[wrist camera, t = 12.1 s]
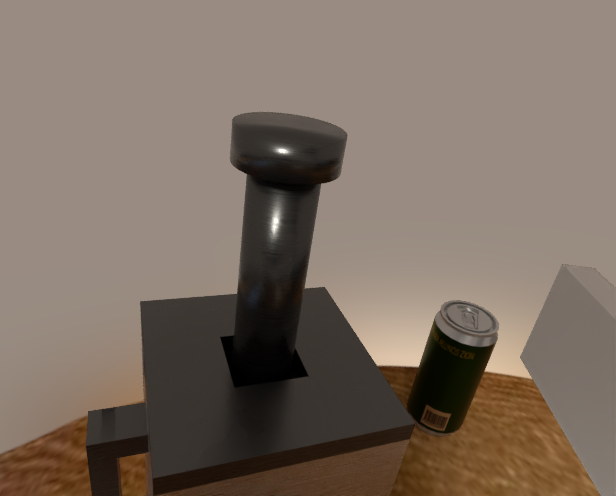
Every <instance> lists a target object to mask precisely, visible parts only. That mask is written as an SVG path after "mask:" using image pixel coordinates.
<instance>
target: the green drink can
mask: <svg viewBox="0 0 616 496" xmlns="http://www.w3.org/2000/svg"><path fill="white" fill-rule="evenodd" d="M498 328H499V323H498V321H497V320H496V318H495V317H494V316H493V315H492V314H491V313H490V312H489V311H487V310H485V309H484V308H482V307H480V306H478V305H476V304H473V303H470V302H466V301H459V300H456V301H449V302H446V303H444V304H443V305H442V307H441V310H440V311H439V312H438V313H437V314H436V316H435V319H434V322H433V325H432V328H431V331H430V335H429V337H428V341H427V344H426V347H425V350H424V353H423V356H422V359H421V362H420V365H419V368H418V371H417V374H416V377H415V380H414V383H413V386H412V390H411V393H410V396H409V399H408V403H407V405H408V410H409V415H410V416H411V418H412V419H413V421H414V422H415V424H416V425H417V426H418V427H419V428H420V429H421V430H423V431H425V432H426V433H429V434H431V435H434V436H448V435H450V434H452V433H454V432H455V431H457V430H459V429H460V427H461V425H462V424H463V421H464V419H465V417H466V414H467V412H468V409H469V407H470V405H471V402H472V400H473V397H474V395H475V392H476V390H477V388H478V385H479V383H480V380H481V378H482V376H483V373H484V371H485V368H486V366H487V363H488V361H489V359H490V356H491V354H492V351H493V349H494V347H495V344H496V342H497V339H498V333H497V331H498Z"/></svg>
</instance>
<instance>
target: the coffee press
mask: <svg viewBox="0 0 616 496" xmlns="http://www.w3.org/2000/svg"><path fill="white" fill-rule="evenodd" d="M236 302H237V294H230V295H218V296H205V297H192V298H179V299H166V300H153V301H141V302H140V305H141V306H140V307H141V336H142V363H143V394H144V403H140V404H133V405H126V406H120V407H113V408H107V409H100V410H94V411H88V424H87V439H86V449H87V458H88V466H89V474H90V482H91V491H92V496H122V490H121V476H120V463H119V458H120V457H126V456H131V455H136V454H142V453H146V480H147V496H390V495H391V492H392V489H393V486H394V483H395V480H396V477H397V474H398V472H399V469H400V466H401V463H402V460H403V457H404V454H405V451H406V449H407V446H408V443H409V440H410V437H411V434H412V431H413V428H414V426H415V422H414V421H413V419H412V418H411V416H410V415H409V413H408V412H407V410H406V409H405V407H404V406H403V404H402V403H401V401H400V400H399V398H398V397H397V395H396V394H395V392H394V391H393V389H392V388H391V386H390V385H389V383H388V382H387V380H386V379H385V377H384V376H383V374H382V373H381V371H380V370H379V368H378V367H377V365H376V364H375V362H374V361H373V359H372V358H371V356H370V355H369V353H368V352H367V350H366V349H365V347H364V346H363V344H362V343H361V342H360V340H359V338H358V337H357V335H356V334H355V332H354V331H353V329H352V328H351V326H350V324H349V323H348V322H347V320H346V319H345V317H344V315H343V314H342V312H341V311H340V309H339V308H338V306H337V305H336V303H335V302H334V300H333V299H332V298H331V296H330V294H329V293H328V291H327V290H326V289H325V287H319V288H306V289H304V294H303V300H302V306H301V313H300V319H299V325H298V331H297V337H296V344H295V350H294V356H293V362H292V369H291V375H290V379H288V380H282V381H275V382H269V383H262V384H255V385H249V386H242V387H238V386H237V385H236V384H235V383H234V382H233V380H232V377H231V364H232V351H233V339H234V327H235V314H236Z"/></svg>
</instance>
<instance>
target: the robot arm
mask: <svg viewBox="0 0 616 496" xmlns="http://www.w3.org/2000/svg"><path fill="white" fill-rule="evenodd" d="M520 358H521V360H522V362H523V363H524V365H525V367H526V369H527V370H528V372H529V374H530V375H531V377H532V379H533V381H534V382H535V384H536V386H537V387H538V389H539V391H540V393H541V394H542V396H543V398H544V399H545V401H546V403H547V405H548V406H549V408H550V410H551V411H552V413H553V415H554V417H555V418H556V420H557V422H558V423H559V425H560V427H561V429H562V430H563V432H564V434H565V435H566V437H567V439H568V441H569V442H570V444H571V446H572V447H573V449H574V451H575V453H576V454H577V456H578V458H579V459H580V461H581V463H582V465H583V466H584V468H585V470H586V471H587V473H588V475H589V477H590V478H591V480H592V482H593V483H594V485H595V487H596V489H597V490H598V492H599V494H600V495H601V496H616V288H615V287H614V286H613V285H612V284H611V283H610V282H608V280H607V279H605V278H604V277H603V276H602V275H601V274H600V273H599V272H598V271H597V270H596V269H595V268H588V267H581V266H573V265H566V264H562V266H561V268H560V270H559V273H558V275H557V277H556V279H555V281H554V284H553V286H552V288H551V291H550V292H549V295H548V297H547V299H546V301H545V303H544V306H543V308H542V310H541V312H540V314H539V317H538V319H537V321H536V323H535V325H534V328H533V330H532V332H531V334H530V336H529V339H528V341H527V343H526V345H525V347H524V350H523V352H522V354H521V356H520Z"/></svg>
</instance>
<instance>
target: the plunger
mask: <svg viewBox="0 0 616 496" xmlns="http://www.w3.org/2000/svg"><path fill="white" fill-rule="evenodd" d="M231 135H232V136H231V150H230V162H231V163H232V165H233V166H234V167H236V168H237V169H238V170H240V171H242V172H244V173H246V174H247V179H246V191H245V204H244V216H243V228H242V241H241V253H240V265H239V278H238V290H237V302H236V314H235V327H234V339H233V351H232V364H231V377H232V380H233V382H234V383H235V384H236V385H237V386H238V387H242V386H249V385H255V384H262V383H269V382H275V381H282V380H288V379H290V375H291V369H292V362H293V356H294V350H295V344H296V337H297V331H298V325H299V319H300V313H301V306H302V300H303V294H304V288H305V281H306V275H307V269H308V263H309V256H310V250H311V244H312V238H313V231H314V225H315V219H316V213H317V207H318V200H319V194H320V188H321V183H327V182H330V181H333V180H335V179H337V178H338V177H339V176H340V174H341V169H342V163H343V158H344V152H345V146H346V141H347V133H346V132H345V131H344V130H343V129H341V128H340V127H338V126H336V125H333V124H331V123H328V122H324V121H321V120H318V119H314V118H310V117H305V116H299V115H292V114H285V113H273V112H253V113H244V114H240V115H237V116H235V117H234V118H233V119H232V134H231Z"/></svg>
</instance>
